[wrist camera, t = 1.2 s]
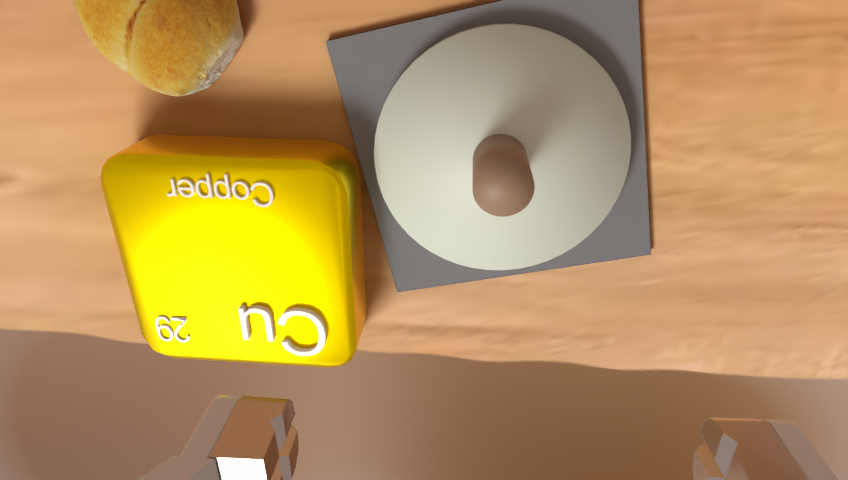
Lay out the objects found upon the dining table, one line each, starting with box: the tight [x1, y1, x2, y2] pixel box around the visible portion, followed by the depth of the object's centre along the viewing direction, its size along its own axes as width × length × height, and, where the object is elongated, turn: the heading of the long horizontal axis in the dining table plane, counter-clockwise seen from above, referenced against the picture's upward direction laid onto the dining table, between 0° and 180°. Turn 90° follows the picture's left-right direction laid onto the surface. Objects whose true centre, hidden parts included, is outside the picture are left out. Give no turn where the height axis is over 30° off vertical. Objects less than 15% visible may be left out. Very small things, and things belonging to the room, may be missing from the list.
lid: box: [374, 23, 631, 270], centre depth 31 cm, size 15×15×6 cm
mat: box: [326, 0, 651, 292], centre depth 34 cm, size 17×17×1 cm
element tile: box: [101, 135, 366, 367], centre depth 37 cm, size 15×15×5 cm
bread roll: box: [73, 0, 244, 96], centre depth 30 cm, size 8×9×4 cm
